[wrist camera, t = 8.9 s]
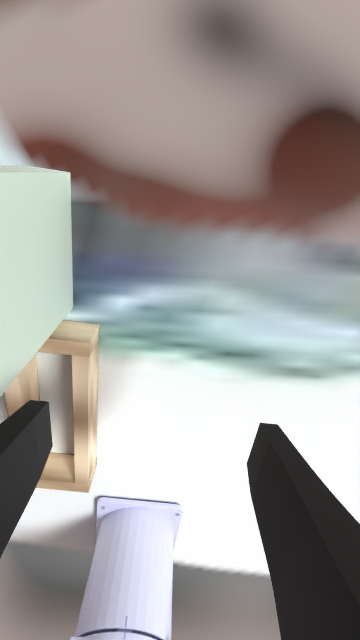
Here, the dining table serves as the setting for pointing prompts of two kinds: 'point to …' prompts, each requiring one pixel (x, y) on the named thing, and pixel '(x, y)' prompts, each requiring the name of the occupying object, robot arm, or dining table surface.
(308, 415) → the dining table surface
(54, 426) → the dining table surface
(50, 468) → the rack
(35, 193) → the pale green slab
